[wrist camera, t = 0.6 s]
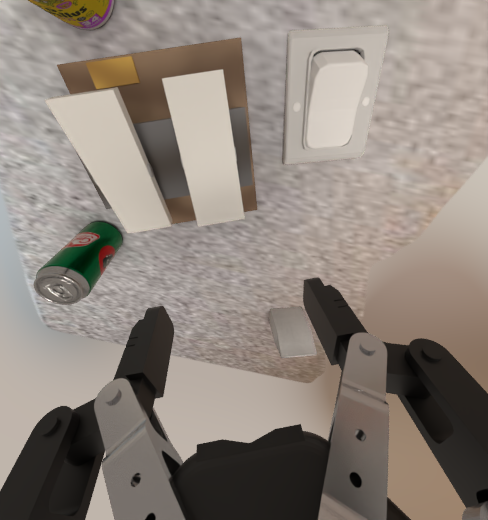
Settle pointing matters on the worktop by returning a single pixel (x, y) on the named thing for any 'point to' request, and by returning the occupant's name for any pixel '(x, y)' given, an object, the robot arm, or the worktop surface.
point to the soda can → (78, 264)
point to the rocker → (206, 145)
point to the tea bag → (291, 332)
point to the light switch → (331, 92)
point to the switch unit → (158, 114)
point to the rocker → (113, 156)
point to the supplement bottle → (79, 11)
